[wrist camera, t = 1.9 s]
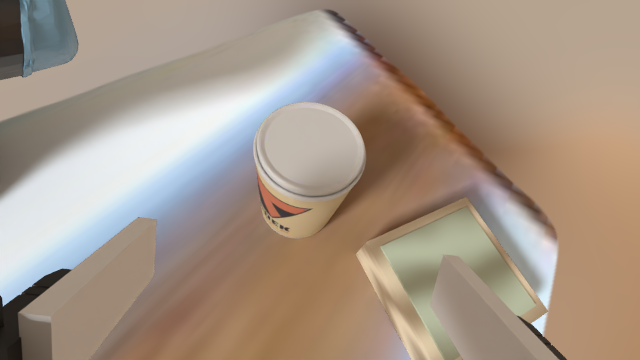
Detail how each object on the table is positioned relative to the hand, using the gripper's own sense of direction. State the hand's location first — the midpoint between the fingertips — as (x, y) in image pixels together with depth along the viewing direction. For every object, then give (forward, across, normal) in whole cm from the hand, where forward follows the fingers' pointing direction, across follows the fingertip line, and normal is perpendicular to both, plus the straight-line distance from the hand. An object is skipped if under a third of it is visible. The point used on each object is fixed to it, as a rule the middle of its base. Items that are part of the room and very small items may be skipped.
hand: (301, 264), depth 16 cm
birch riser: (+17, +16, -10) cm, 26 cm away
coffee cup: (+22, 0, -5) cm, 23 cm away
